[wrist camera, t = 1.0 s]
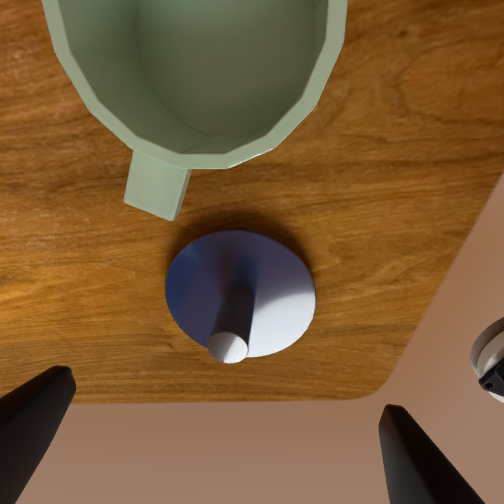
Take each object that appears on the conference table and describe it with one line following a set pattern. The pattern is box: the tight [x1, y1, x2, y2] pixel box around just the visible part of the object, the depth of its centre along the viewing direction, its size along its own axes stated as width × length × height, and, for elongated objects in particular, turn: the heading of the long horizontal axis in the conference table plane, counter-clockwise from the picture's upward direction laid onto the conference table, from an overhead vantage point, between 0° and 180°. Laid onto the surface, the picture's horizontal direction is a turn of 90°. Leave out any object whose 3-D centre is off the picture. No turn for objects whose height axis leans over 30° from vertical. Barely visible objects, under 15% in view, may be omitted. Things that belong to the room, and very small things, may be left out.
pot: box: [41, 0, 348, 221], centre depth 13 cm, size 10×15×6 cm, turn 158°
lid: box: [165, 228, 316, 363], centre depth 20 cm, size 11×11×6 cm
